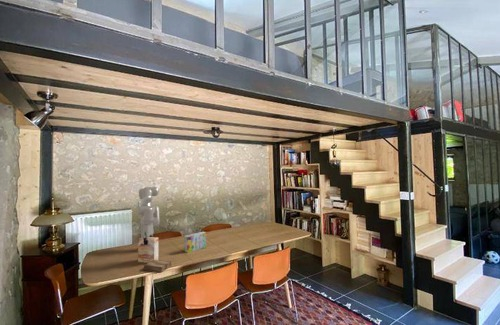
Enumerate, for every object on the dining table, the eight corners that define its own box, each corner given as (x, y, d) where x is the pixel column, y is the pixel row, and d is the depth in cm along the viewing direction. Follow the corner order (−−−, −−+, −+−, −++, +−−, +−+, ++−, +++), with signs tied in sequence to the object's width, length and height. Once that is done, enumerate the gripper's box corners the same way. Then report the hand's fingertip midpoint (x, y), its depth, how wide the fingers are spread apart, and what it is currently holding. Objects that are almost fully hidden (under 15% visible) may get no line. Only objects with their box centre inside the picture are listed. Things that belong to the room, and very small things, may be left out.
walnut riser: (154, 264, 197) (154, 259, 197) (170, 266, 192) (171, 261, 192) (143, 270, 185) (143, 264, 185) (161, 273, 181) (161, 267, 181)
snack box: (203, 246, 240) (203, 231, 240) (206, 247, 236) (206, 232, 236) (184, 251, 225) (184, 235, 225) (187, 253, 221) (187, 236, 221)
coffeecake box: (137, 262, 200) (137, 238, 200) (142, 258, 207) (142, 236, 207) (154, 263, 198) (154, 239, 198) (158, 260, 205) (158, 237, 205)
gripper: (149, 219, 212) (149, 239, 212) (138, 224, 195) (138, 246, 194) (157, 219, 211) (157, 240, 211) (146, 224, 194) (146, 246, 193)
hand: (148, 242), depth 203 cm, fingers closed on coffeecake box, 7 cm apart
